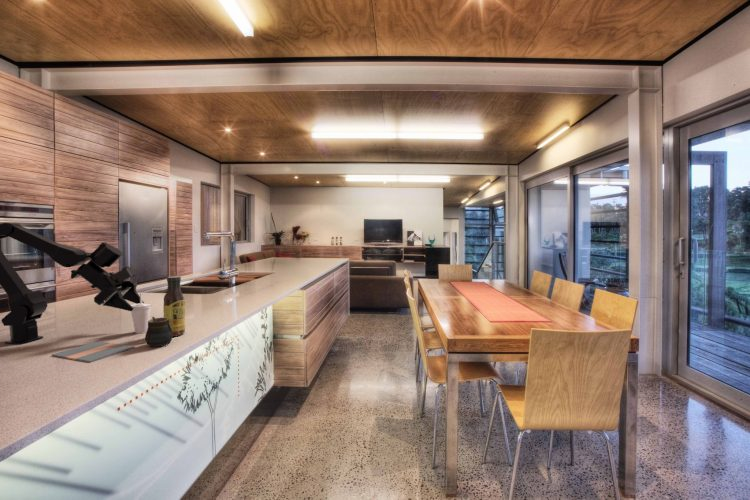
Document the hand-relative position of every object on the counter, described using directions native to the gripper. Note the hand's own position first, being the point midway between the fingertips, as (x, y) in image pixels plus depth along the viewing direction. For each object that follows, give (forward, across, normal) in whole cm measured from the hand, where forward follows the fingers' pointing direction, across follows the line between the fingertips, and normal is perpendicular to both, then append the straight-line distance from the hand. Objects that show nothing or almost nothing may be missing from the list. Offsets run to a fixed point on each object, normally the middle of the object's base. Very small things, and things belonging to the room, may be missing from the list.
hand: (137, 307), depth 117 cm
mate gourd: (+15, -17, -2) cm, 23 cm away
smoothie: (+7, 0, +6) cm, 9 cm away
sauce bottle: (+16, -7, -3) cm, 17 cm away
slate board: (+3, -18, +10) cm, 21 cm away
